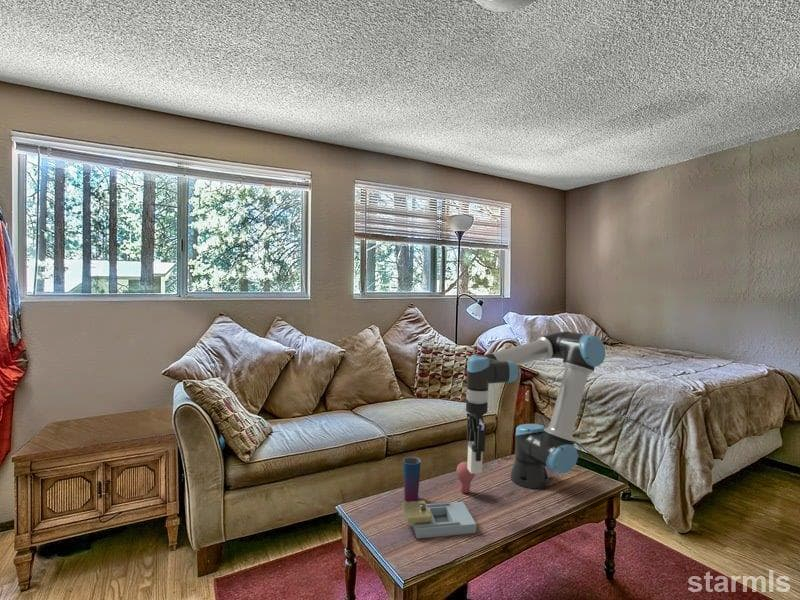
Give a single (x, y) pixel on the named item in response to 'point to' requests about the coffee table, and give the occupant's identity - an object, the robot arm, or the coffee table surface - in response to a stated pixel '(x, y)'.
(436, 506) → the socket board
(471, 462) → the plug
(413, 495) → the cup
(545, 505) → the coffee table surface
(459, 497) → the coffee table surface
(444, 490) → the coffee table surface
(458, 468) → the light bulb
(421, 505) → the panel
